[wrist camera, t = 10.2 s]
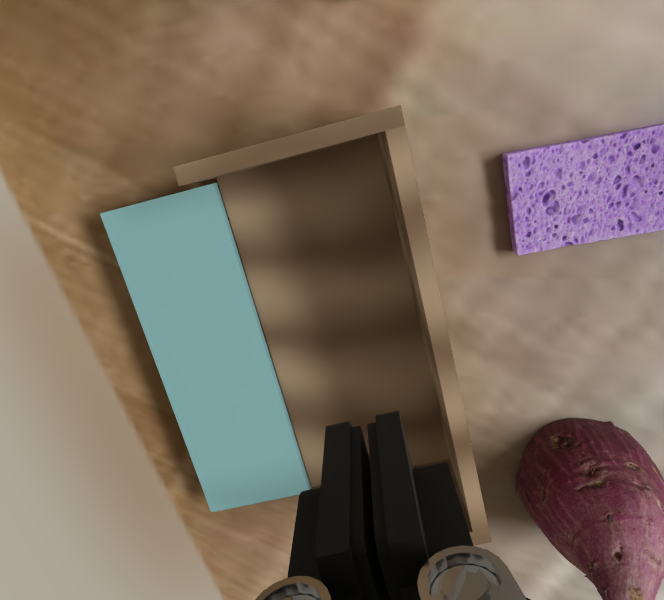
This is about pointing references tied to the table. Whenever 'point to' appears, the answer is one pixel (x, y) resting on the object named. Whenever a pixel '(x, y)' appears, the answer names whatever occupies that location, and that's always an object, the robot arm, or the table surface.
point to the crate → (348, 289)
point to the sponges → (585, 189)
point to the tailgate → (208, 345)
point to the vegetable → (598, 504)
